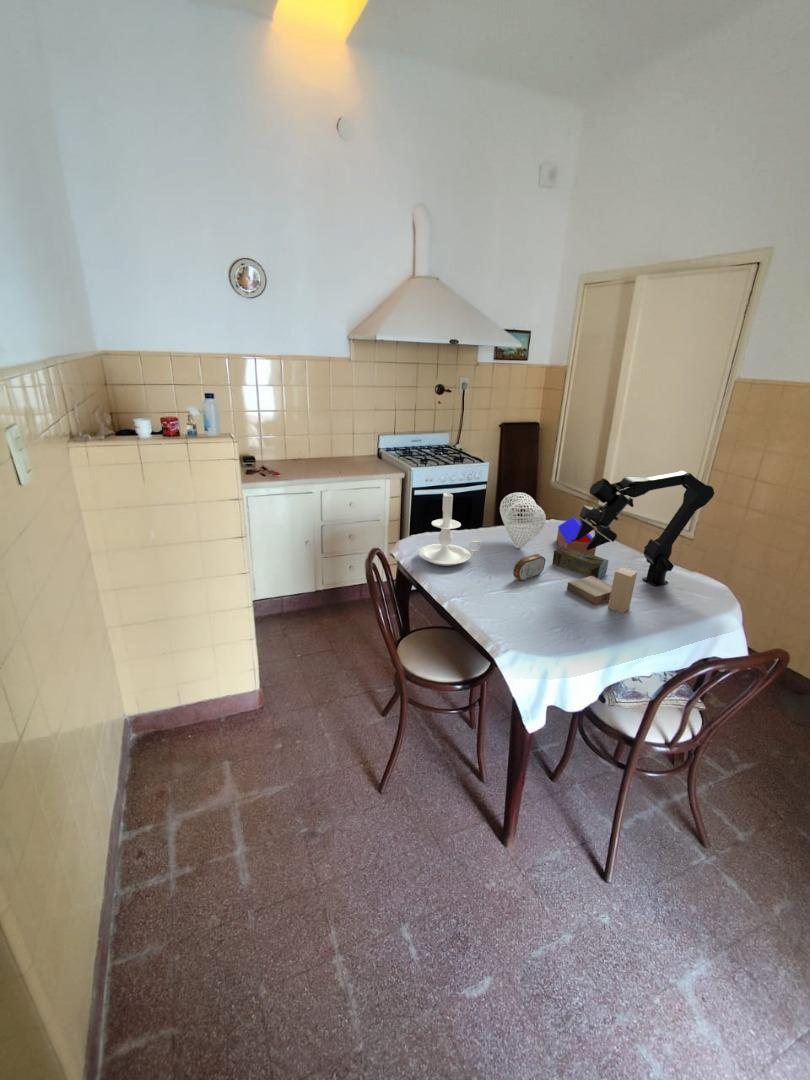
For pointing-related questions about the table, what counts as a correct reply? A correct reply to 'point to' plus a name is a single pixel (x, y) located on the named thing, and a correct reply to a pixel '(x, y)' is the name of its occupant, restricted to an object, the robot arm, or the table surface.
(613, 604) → the kraft carton
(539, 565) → the tin
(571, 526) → the house
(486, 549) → the table surface
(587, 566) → the beverage carton
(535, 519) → the heart
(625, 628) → the table surface
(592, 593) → the walnut podium
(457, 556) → the candlestick
